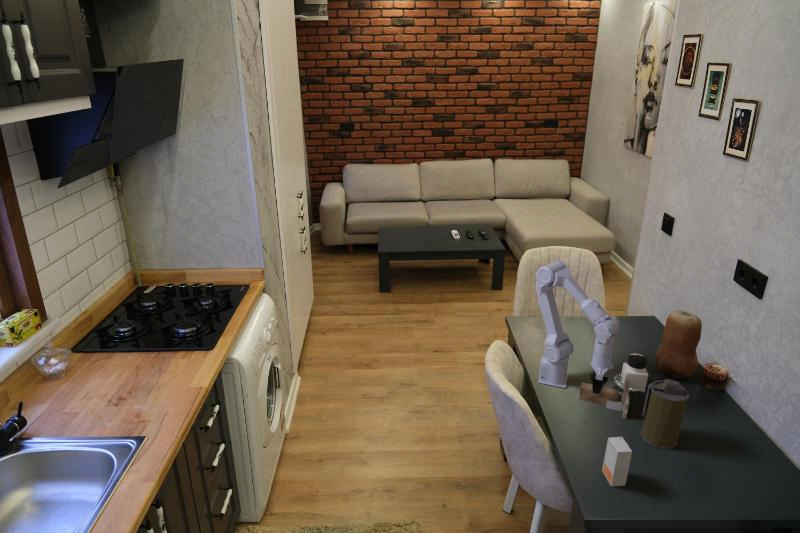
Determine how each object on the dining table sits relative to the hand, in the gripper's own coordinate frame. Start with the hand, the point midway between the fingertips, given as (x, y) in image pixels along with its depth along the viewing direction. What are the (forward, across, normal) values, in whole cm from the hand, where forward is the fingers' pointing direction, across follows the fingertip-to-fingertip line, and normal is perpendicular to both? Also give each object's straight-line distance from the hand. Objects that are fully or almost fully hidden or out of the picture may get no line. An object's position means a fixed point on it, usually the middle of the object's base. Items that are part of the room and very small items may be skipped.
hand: (596, 386), depth 181 cm
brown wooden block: (+6, 0, -1) cm, 6 cm away
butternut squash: (+5, +27, -26) cm, 38 cm away
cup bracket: (+5, 0, -6) cm, 8 cm away
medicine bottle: (+5, +14, -12) cm, 19 cm away
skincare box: (+5, -37, -7) cm, 38 cm away
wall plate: (+5, 0, -10) cm, 11 cm away
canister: (+5, -13, -19) cm, 24 cm away
